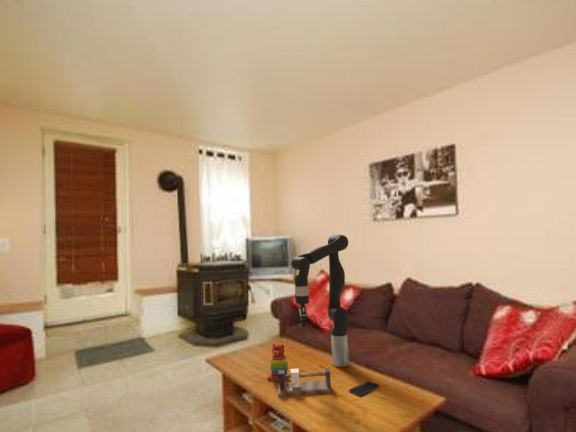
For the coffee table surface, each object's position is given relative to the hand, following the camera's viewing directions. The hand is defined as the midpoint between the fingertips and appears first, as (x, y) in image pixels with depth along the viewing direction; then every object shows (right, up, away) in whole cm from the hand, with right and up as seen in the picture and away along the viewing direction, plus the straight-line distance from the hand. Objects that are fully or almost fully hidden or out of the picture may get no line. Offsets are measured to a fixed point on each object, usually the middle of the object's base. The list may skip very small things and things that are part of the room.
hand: (303, 324), depth 188 cm
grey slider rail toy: (0, -27, -16) cm, 31 cm away
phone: (+29, -27, -18) cm, 43 cm away
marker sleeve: (-5, -23, -15) cm, 28 cm away
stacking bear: (-13, -29, 0) cm, 32 cm away
